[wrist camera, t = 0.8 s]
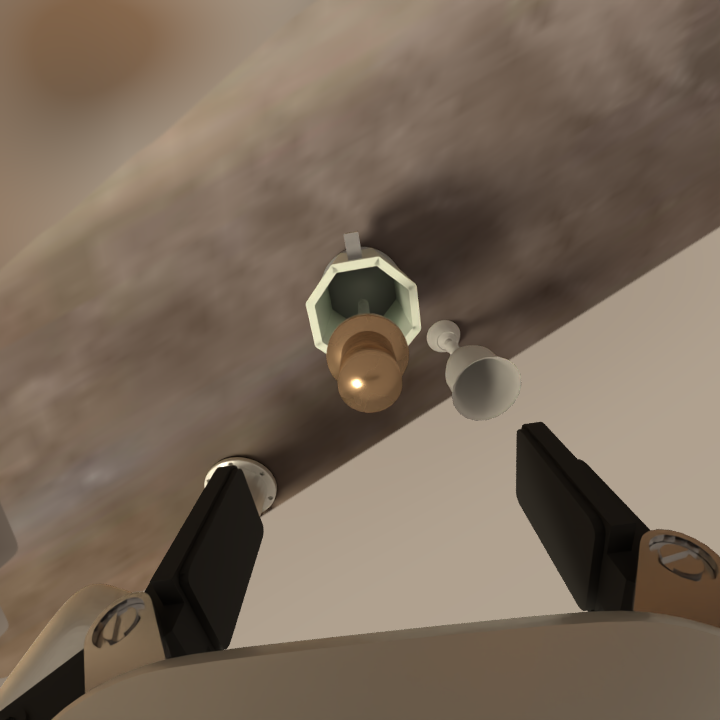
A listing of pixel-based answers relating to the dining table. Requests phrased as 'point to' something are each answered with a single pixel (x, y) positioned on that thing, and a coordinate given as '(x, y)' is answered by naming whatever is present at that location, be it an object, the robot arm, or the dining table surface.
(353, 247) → the press carafe
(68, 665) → the robot arm
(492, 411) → the chalice
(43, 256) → the dining table surface
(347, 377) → the plunger
